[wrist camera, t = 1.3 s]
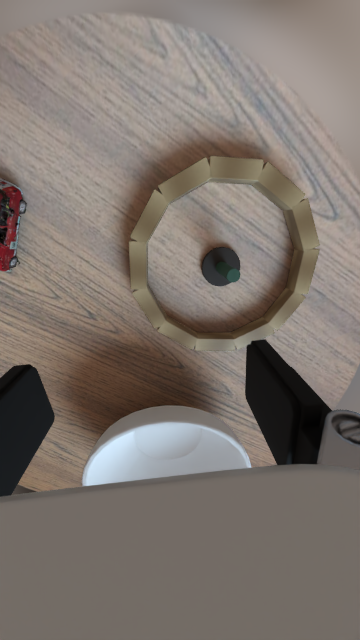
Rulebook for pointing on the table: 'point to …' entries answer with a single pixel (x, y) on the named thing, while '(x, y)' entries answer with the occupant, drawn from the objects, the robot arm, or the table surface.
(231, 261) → the green peg
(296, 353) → the table surface
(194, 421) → the bowl
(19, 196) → the toy car
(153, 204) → the ring
